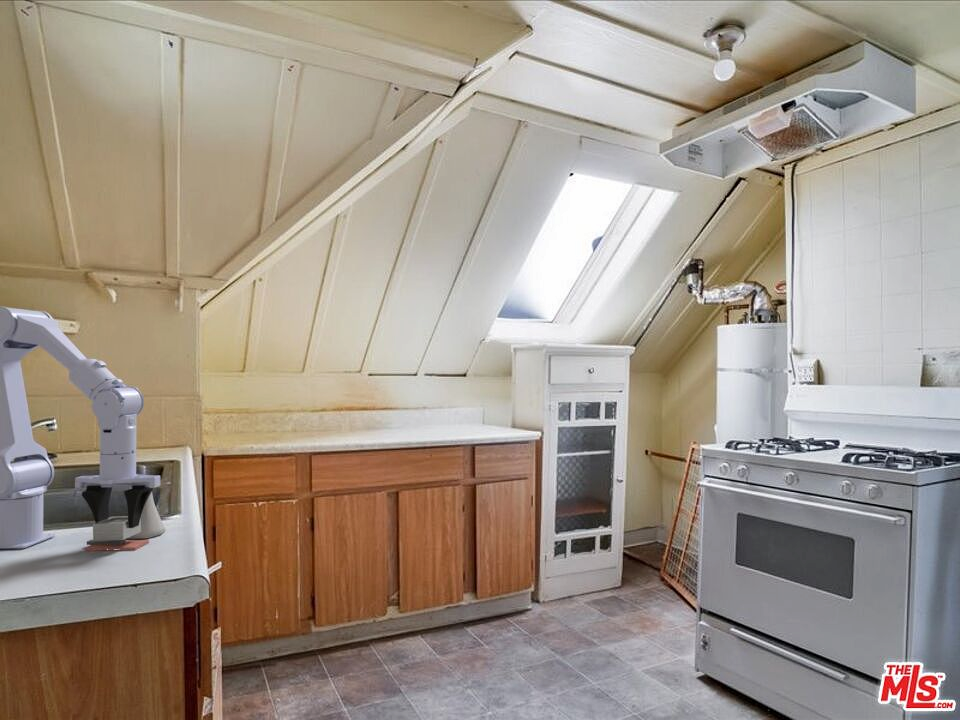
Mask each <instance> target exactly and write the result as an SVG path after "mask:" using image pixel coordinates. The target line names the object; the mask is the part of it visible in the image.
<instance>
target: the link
mask: <svg viewBox="0 0 960 720" xmlns="http://www.w3.org/2000/svg"><path fill="white" fill-rule="evenodd" d="M114 520H125V521H123V522H111V521H114ZM139 532H141V518H140V522H139V526H136V527H134V528H129V523H128V515H122V516H119V515H118V516H109V517H108V519H105V520H102V521H100V522H97V523H95V522H94V523H92V540H93V541H105V540H124V539H127V538H129V537H131V536H133V535H135V534H137V533H139Z"/></svg>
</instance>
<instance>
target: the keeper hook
mask: <svg viewBox="0 0 960 720" xmlns="http://www.w3.org/2000/svg"><path fill="white" fill-rule="evenodd" d="M123 521H125V520H114V521H111V522H123ZM126 539H127V538H126ZM126 539H124V540H105V541H93V539H89V540H88V541H86V546H85V547H84V551H115V550H114V549H120V550H119V551H126V550H125V549H129V550H128V551H136V550H138V549H140V548H142V547H144V546H146V545H148V544H149V543H150V540H149V539H143V540H142V539H127V540H126ZM141 546H142V547H141ZM139 547H140V548H139ZM137 548H138V549H137ZM107 549H108V550H107ZM135 549H136V550H135Z"/></svg>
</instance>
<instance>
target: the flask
mask: <svg viewBox="0 0 960 720" xmlns="http://www.w3.org/2000/svg"><path fill="white" fill-rule="evenodd" d="M164 532H166V528H165V525H164V524H163V521H162V519H161V517H160V514H159V512H158V509H157V507H156V504H155V501H154V496H153V491H152V492H151V494H150V496H149V497H148V499H147V501H146V503H145V506H144V508H143V511H142V514H141V532H139V533H137V534H135V535H133V536H131V537H129V538H126V539H127V540H142V539H149V538H153V537H157V536H160V535H162V534H163V533H164Z"/></svg>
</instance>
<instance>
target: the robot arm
mask: <svg viewBox="0 0 960 720" xmlns="http://www.w3.org/2000/svg"><path fill="white" fill-rule="evenodd" d="M38 347H40V348H41V349H43V350H44V351H45V352H46V353H47V354H48V355H50V356H51V357H52V358H54V359H55V360H56V361H57V362H58V363H60V364H61V365H62V366H63V367H64V368H66V369H67V371H69V372H68V380H69V381H70V382H71V383H72V384H73V385H74V386H75V387H76V388H77V389H78V390H79V391H80V392H81V393H82V394H83V395H84V396H85V397H86V398H87V399H89V400H90V401H91V402H92V403H91V409H92V412H93V414H94V416H95V417H96V419H97V427H99V474H98V475H81V476H78V477H76V476H75V478H74V489H83V488H86V489H85V490H83V491H82V492H81V496H82V498H83V499H84V500H85V502H86V504H87V505H88V507H89V509H90V510H91V513H92V516H93V519H94V523H97V522H100V521H102V520H105V519H108V518H109V505H110V499H111V495H112V490H113V488H129V489H126V490H124V491H123V493H124V497H125V501H126V506H127V516H128V523H129V528H134V527H136V526H139V522H140V518H141V514H142V511H143V508H144V506H145V503H146V501H147V499H148V497H149V496H150V494H151V492H152V493H153V491H154V489H155V488H158V487H161V475H154V474H153V475H152V474H140V473H137V416H138V415H139V414H140V413H141V412H142V411H143V409H144V405H145V400H144V397H143V394H142V393H141V391H140V389H138V388H137V387H135V386H130V385H126V384H124V381H123V380H122V379H121V378H117V376H115V375H114V374H113V373H112V372H111V371H110V370H109V369H108V368H107V367H106V366H107V364H106V363H105V362H104V360H99V359H96V358H86V357H85V355H84V354H83V353H82V352H81V351H80V349H78V348H77V347H76V345H75V344H74V343H73V342H72V341H71V340H70V338H68V336H66V335H65V333H64V332H63V331H62V329H60V324H59V321H58V320H56V319H55V318H53V317H52V315H51V314H49V313H48V312H47V311H44V310H33V309H31V310H30V309H23V308H22V309H21V308H15V307H14V308H13V307H7V306H2V305H0V549H25V548H28V547H30V546H33V545H36V544H39V543H42V542H43V541H46V540H49V539H51V538H54V537H55V533H44V493H45V492H47V491H48V489H47V488H48V486H50V484H51V483H52V482H53V481H54V477H55V467H54V465H53V463H52V461H51V459H50V458H49V456H48V452H47V449H46V448H45V447H44V446H42V445H40V444H39V443H38V442H36V441H35V439H34V435H33V430H32V429H33V427H32V423H31V417H30V411H29V406H28V400H27V394H26V389H25V383H24V381H25V380H24V376H23V371H22V370H23V369H22V365H21V361H22V360H23V358H25V356H26V355H29V354H30V353H31V352H33V351H35V350H36V349H37V348H38ZM13 459H19V460H13Z"/></svg>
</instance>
